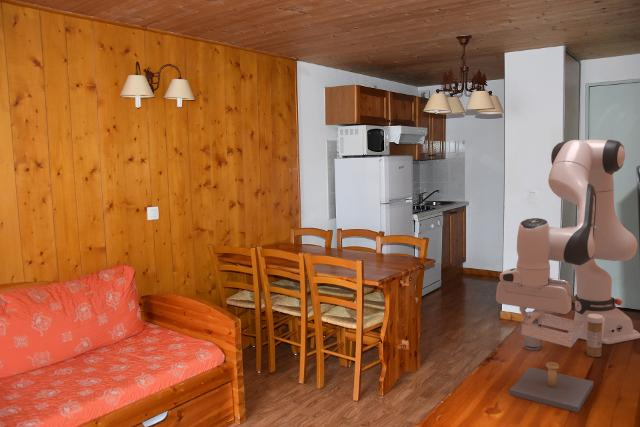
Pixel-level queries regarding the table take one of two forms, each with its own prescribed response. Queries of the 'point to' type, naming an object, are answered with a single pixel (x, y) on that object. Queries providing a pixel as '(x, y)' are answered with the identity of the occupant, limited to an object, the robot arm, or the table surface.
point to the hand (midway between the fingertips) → (532, 322)
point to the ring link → (552, 335)
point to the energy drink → (532, 339)
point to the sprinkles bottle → (594, 335)
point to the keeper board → (552, 388)
